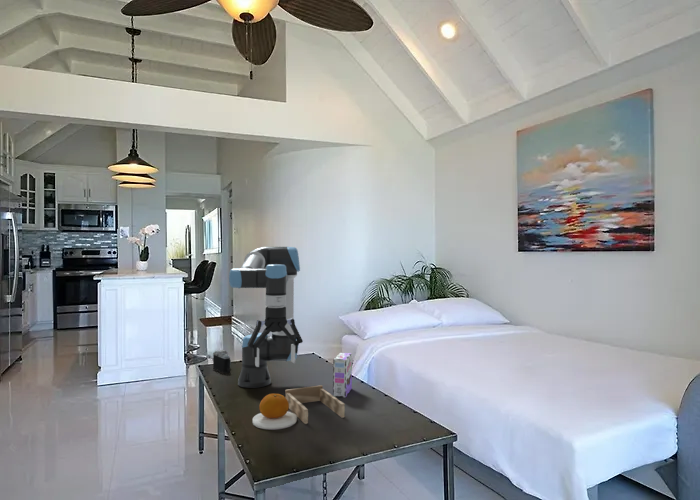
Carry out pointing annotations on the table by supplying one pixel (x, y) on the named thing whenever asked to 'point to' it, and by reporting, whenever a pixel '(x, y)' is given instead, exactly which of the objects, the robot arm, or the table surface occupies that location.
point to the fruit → (274, 406)
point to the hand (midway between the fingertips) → (275, 364)
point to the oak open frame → (311, 395)
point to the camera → (221, 361)
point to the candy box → (342, 374)
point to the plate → (274, 421)
